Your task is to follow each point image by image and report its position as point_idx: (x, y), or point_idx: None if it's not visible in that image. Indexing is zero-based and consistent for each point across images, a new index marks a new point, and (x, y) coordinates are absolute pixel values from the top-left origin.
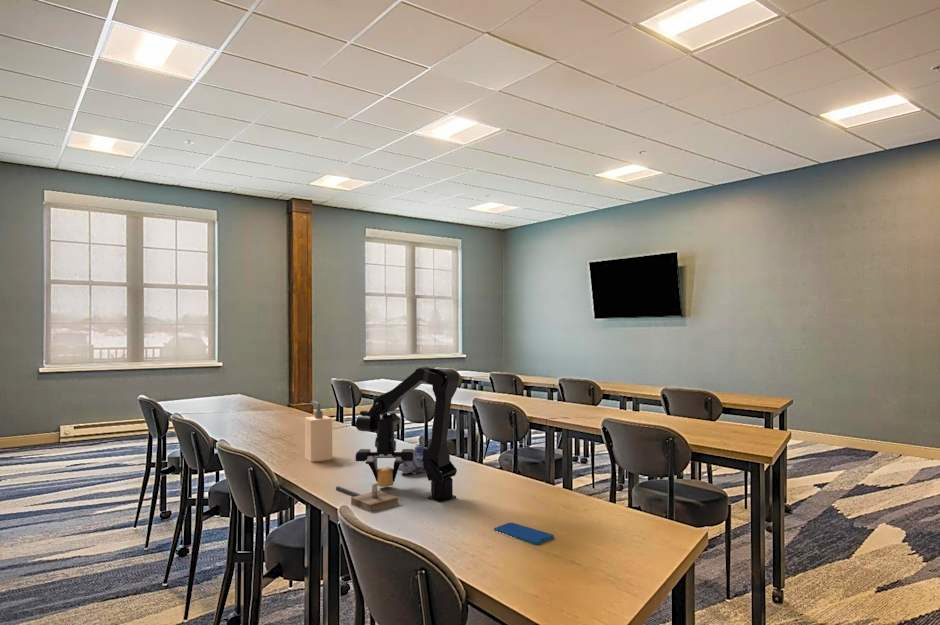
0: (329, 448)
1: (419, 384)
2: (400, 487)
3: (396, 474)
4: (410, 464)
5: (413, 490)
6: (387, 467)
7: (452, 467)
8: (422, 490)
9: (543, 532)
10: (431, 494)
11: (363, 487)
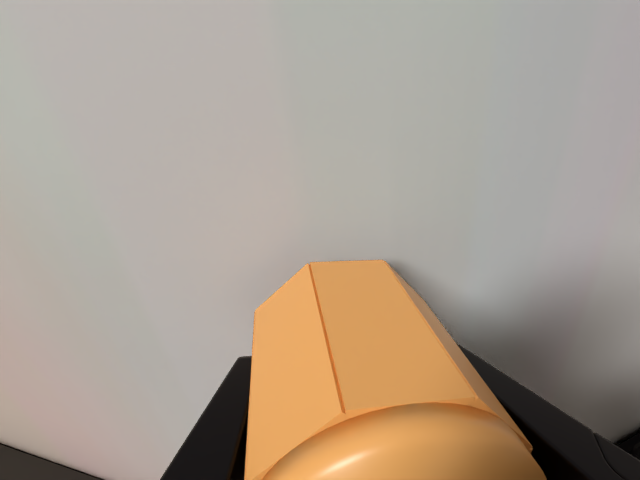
0: None
1: None
2: (470, 275)
3: (525, 389)
4: None
5: (556, 342)
6: (447, 448)
7: None
8: (617, 337)
9: None
10: (633, 450)
11: (78, 291)
